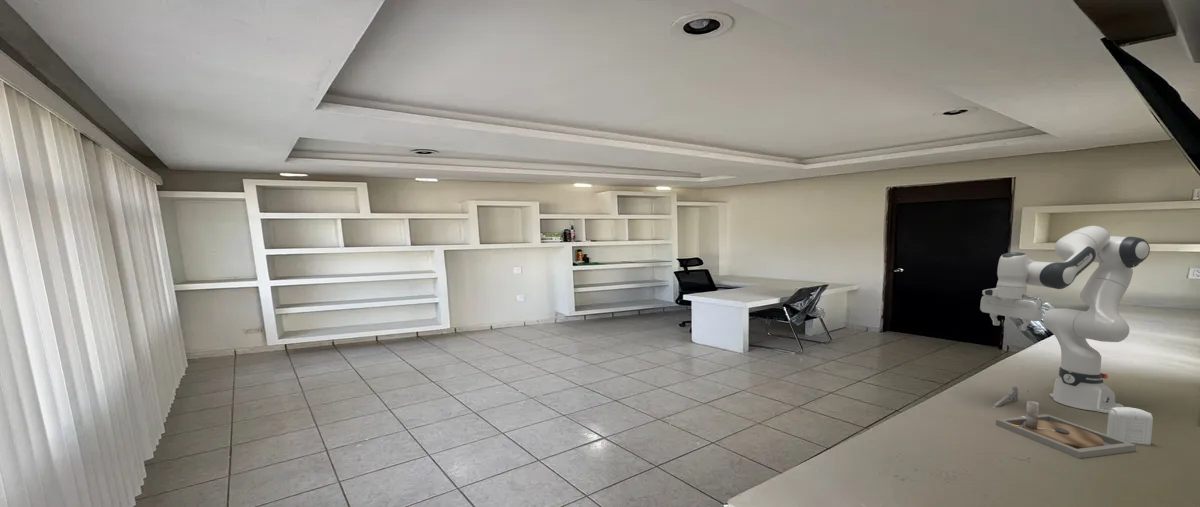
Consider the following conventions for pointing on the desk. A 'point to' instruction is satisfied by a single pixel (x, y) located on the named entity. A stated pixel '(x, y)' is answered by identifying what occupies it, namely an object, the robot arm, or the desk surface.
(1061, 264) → the robot arm
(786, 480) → the desk surface
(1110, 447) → the dial base
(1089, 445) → the dial
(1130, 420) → the photo printer
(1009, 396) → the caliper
